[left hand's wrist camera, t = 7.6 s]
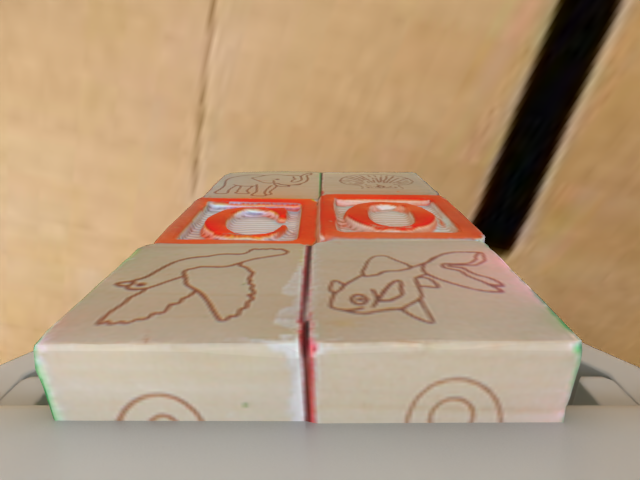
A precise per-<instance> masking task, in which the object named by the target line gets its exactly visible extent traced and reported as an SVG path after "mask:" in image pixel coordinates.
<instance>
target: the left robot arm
mask: <svg viewBox="0 0 640 480" xmlns="http://www.w3.org/2000/svg"><path fill="white" fill-rule="evenodd" d="M0 480H640V368H639V367H637V366H635V365H633V364H630V363H628V362H626V361H623V360H621V359H619V358H616V357H614V356H612V355H610V354H607V353H605V352H603V351H600V350H598V349H596V348H593V347H591V346H589V345H587V344H584V343H582V357H581V362H580V366H579V369H578V372H577V375H576V378H575V382H574V385H573V389H572V392H571V396H570V399H569V402H568V404H567V406H566V409H565V417H564V422H525V423H329V424H317V423H312V422H307V421H55V420H54V419H53V416H52V413H51V410H50V407H49V403H48V400H47V397H46V394H45V391H44V388H43V386H42V384H41V381H40V379H39V377H38V374H37V372H36V370H35V361H34V351H32V352H30V353H27V354H25V355H23V356H20V357H18V358H16V359H13V360H11V361H9V362H6V363H4V364H2V365H0Z"/></svg>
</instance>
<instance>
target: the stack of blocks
mask: <svg viewBox="0 0 640 480" xmlns="http://www.w3.org/2000/svg"><path fill="white" fill-rule="evenodd" d="M484 241H485V236H484V235H483V234H482V233H481V232H480V230H478V229H477V228H476V227H475V226H474V225H473V224H472V223H471V222H470V221H469V220H468V219H467V218H466V217H465V216H464V215H463V214H462V213H461V212H459V211H458V210H457V209H456V208H455V207H454V206H453V205H451V204H450V203H449V202H448V201H447V200H446V199H445V198H443V197H441V196H439V194H438V193H437V192H436V191H435V190H434V189H433V188H431V187H430V186H429V185H428V184H427V183H426V182H425V181H423V180H422V179H421V178H420V177H419V176H418V175H417V174H416V173H413V172H395V173H390V172H328V173H319V172H289V171H281V172H242V173H230V174H227V175H225V176H224V177H222V178H221V179H220V180H219V181H218V182H217V183H216V184H215V185H214V186H213V187H212V188H211V189H210V190H209V192H207V194H206V195H205V196H204V197H203V198H200V199H198V200H196V201H195V202H194V203H193V204H192V205H191V206H190V207H189V208H188V209H187V210H186V211H185V212H184V213H183V214H182V215H181V216H180V217H179V218H178V219H177V220H175V221H174V222H173V223H172V224H171V225H170V226H169V227H168V228H167V229H166V230H165V231H164V232H163V233H162V235H161V236H160V237H159V238H158V239H157V240H156V241H155V243H154V244H151V245H146V246H143V247H141V248H139V249H137V250H136V251H135V252H134V253H133V254H132V255H131V256H130V257H129V258H128V259H126V260H125V261H124V262H123V263H122V264H121V265H120V266H119V267H118V268H117V269H116V270H114V271H113V272H112V273H111V274H110V275H109V276H108V277H106V278H105V279H104V280H103V281H102V282H101V283H99V284H98V285H97V286H96V287H95V288H94V289H93V290H92V291H91V292H90V293H89V294H88V295H87V296H85V297H84V298H83V299H82V300H81V301H80V302H79V303H78V304H77V305H75V306H74V307H73V308H72V309H71V310H70V311H69V312H68V313H66V314H65V315H64V316H63V317H62V318H61V319H60V320H58V321H57V322H56V323H55V324H54V325H53V326H52V327H51V328H49V329H48V330H47V331H46V333H45V334H44V335H43V336H42V337H41V338H40V340H39V341H38V342H37V343H36V344H35V345H34V361H35V370H36V372H37V374H38V377H39V379H40V381H41V384H42V386H43V388H44V391H45V394H46V397H47V400H48V403H49V407H50V410H51V413H52V416H53V419H54V420H55V421H307V422H312V423H317V424H329V423H525V422H564V417H565V409H566V406H567V404H568V402H569V399H570V396H571V392H572V389H573V385H574V382H575V378H576V375H577V372H578V369H579V366H580V362H581V357H582V340H581V339H580V338H579V337H578V336H577V335H576V334H575V333H573V332H572V331H571V330H570V329H569V328H568V327H567V325H566V324H565V323H564V322H563V321H562V320H561V319H560V318H559V317H558V316H557V315H556V314H555V313H554V312H553V311H552V310H551V308H550V307H549V306H548V305H547V304H546V303H545V302H544V301H543V300H542V299H541V298H540V297H539V296H538V295H537V294H536V293H535V292H534V291H533V290H532V289H531V288H530V287H529V286H528V285H527V284H526V283H525V282H524V281H523V280H522V279H521V278H520V277H518V276H517V275H516V274H515V273H514V272H513V271H512V270H511V269H510V268H509V266H508V265H507V264H506V263H505V262H504V261H503V260H502V259H501V258H500V257H499V256H498V255H497V254H496V253H495V252H494V251H492V250H491V249H490V248H489V247H488V245H486V244H485V243H484Z"/></svg>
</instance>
